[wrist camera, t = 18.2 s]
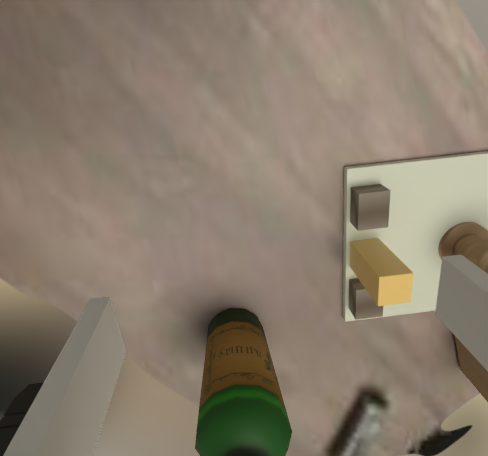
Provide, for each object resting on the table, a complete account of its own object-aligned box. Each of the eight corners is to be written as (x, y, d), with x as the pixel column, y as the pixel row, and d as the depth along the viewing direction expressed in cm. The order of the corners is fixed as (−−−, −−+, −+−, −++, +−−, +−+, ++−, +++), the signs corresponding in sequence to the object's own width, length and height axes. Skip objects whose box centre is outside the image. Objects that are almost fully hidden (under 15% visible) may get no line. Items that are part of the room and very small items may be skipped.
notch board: (350, 187, 49) (358, 194, 46) (380, 183, 49) (390, 190, 46) (348, 307, 56) (355, 319, 53) (374, 304, 56) (382, 316, 53)
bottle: (279, 312, 57) (333, 509, 31) (253, 363, 60) (282, 579, 34) (214, 292, 55) (213, 487, 29) (191, 347, 58) (172, 565, 32)
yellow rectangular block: (350, 241, 52) (379, 277, 42) (378, 237, 52) (413, 273, 42) (349, 266, 53) (377, 306, 44) (376, 263, 53) (410, 302, 44)
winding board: (344, 166, 49) (347, 169, 48) (506, 148, 49) (512, 150, 48) (342, 316, 58) (345, 321, 57) (478, 300, 59) (484, 304, 58)
